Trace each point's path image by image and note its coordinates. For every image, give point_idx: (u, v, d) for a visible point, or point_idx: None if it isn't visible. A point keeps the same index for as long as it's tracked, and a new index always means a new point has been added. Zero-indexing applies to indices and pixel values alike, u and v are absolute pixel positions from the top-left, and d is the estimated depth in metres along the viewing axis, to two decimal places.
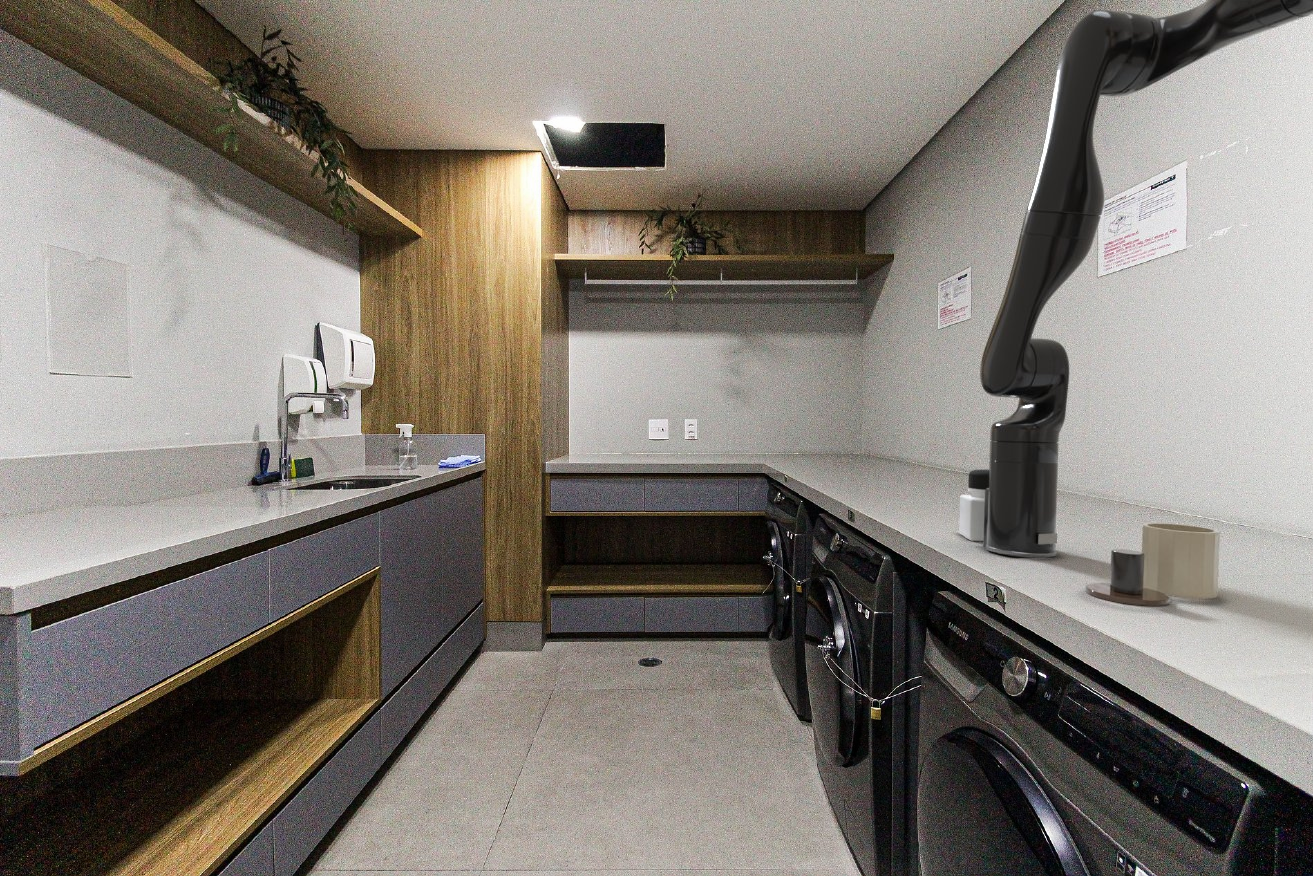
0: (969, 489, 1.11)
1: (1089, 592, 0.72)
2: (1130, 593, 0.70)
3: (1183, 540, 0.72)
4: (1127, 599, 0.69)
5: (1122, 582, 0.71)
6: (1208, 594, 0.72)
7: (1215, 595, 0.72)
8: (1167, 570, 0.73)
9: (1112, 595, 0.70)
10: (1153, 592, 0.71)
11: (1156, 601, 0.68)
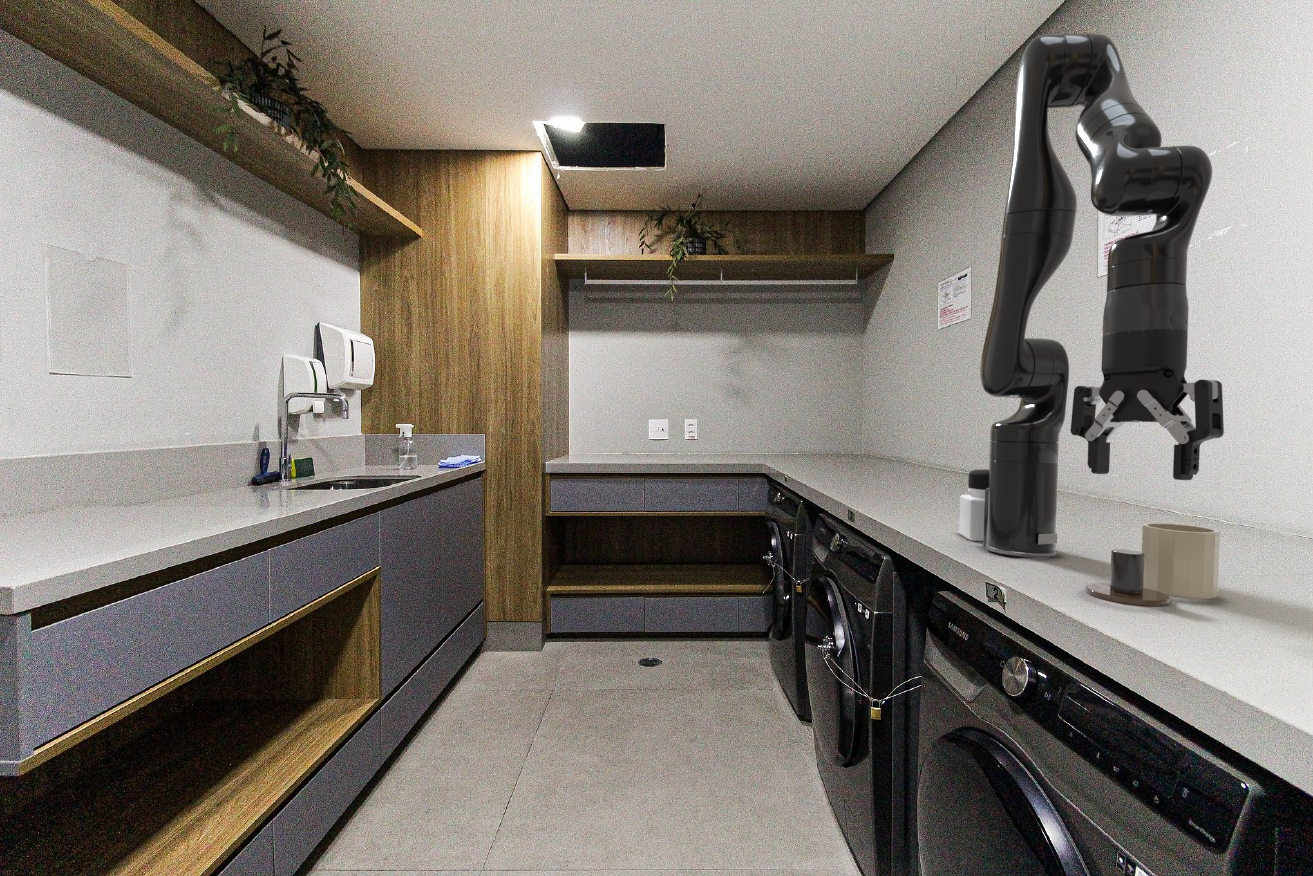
0: (969, 489, 1.11)
1: (1089, 592, 0.72)
2: (1130, 593, 0.70)
3: (1183, 540, 0.72)
4: (1127, 599, 0.69)
5: (1122, 582, 0.71)
6: (1208, 594, 0.72)
7: (1215, 595, 0.72)
8: (1167, 570, 0.73)
9: (1112, 595, 0.70)
10: (1153, 592, 0.71)
11: (1156, 601, 0.68)
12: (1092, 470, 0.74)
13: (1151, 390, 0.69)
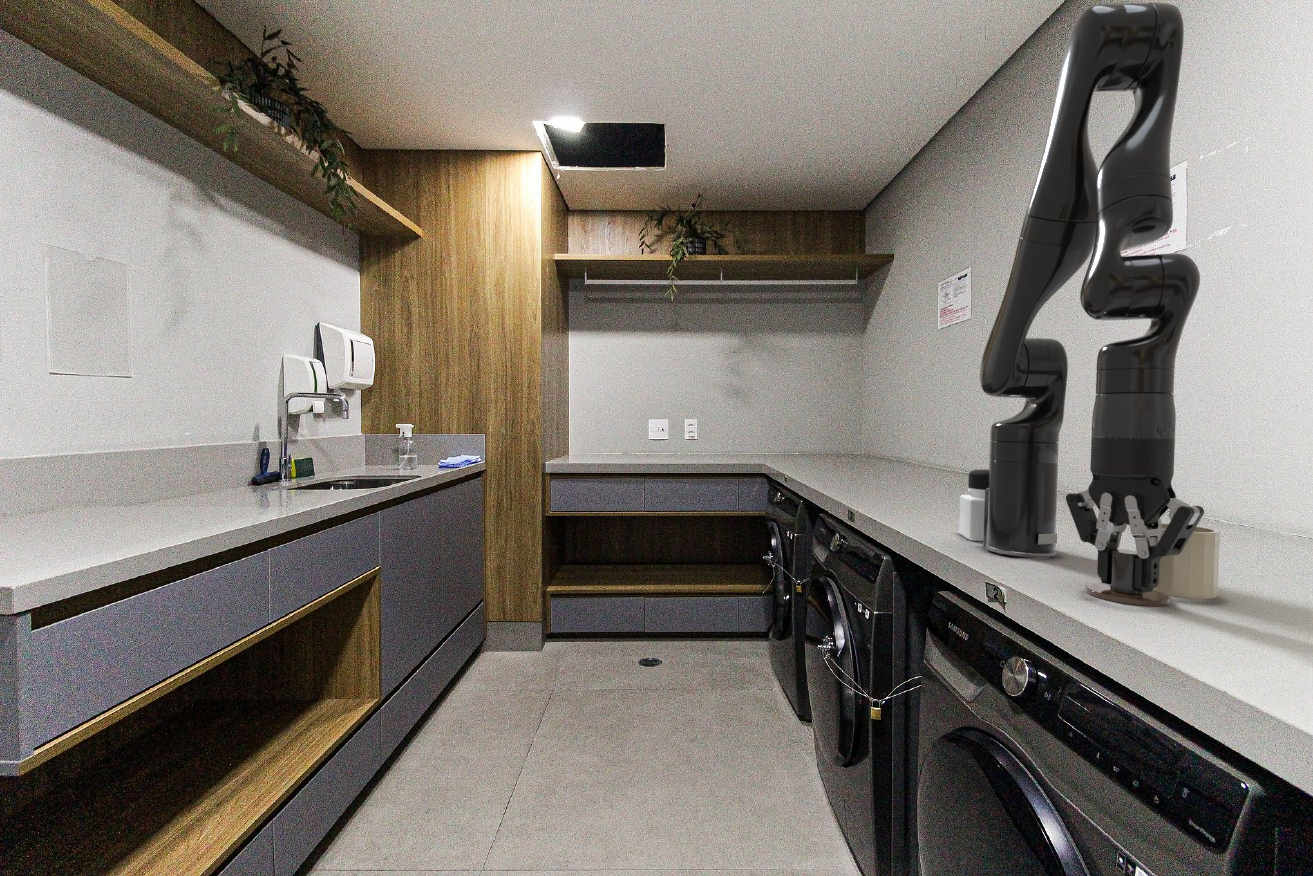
0: (969, 489, 1.11)
1: (1089, 592, 0.72)
2: (1130, 593, 0.70)
3: None
4: (1127, 599, 0.69)
5: (1122, 582, 0.71)
6: (1208, 594, 0.72)
7: (1215, 595, 0.72)
8: (1167, 570, 0.73)
9: (1112, 595, 0.70)
10: (1153, 592, 0.71)
11: (1156, 601, 0.68)
12: (1102, 580, 0.73)
13: (1138, 496, 0.69)
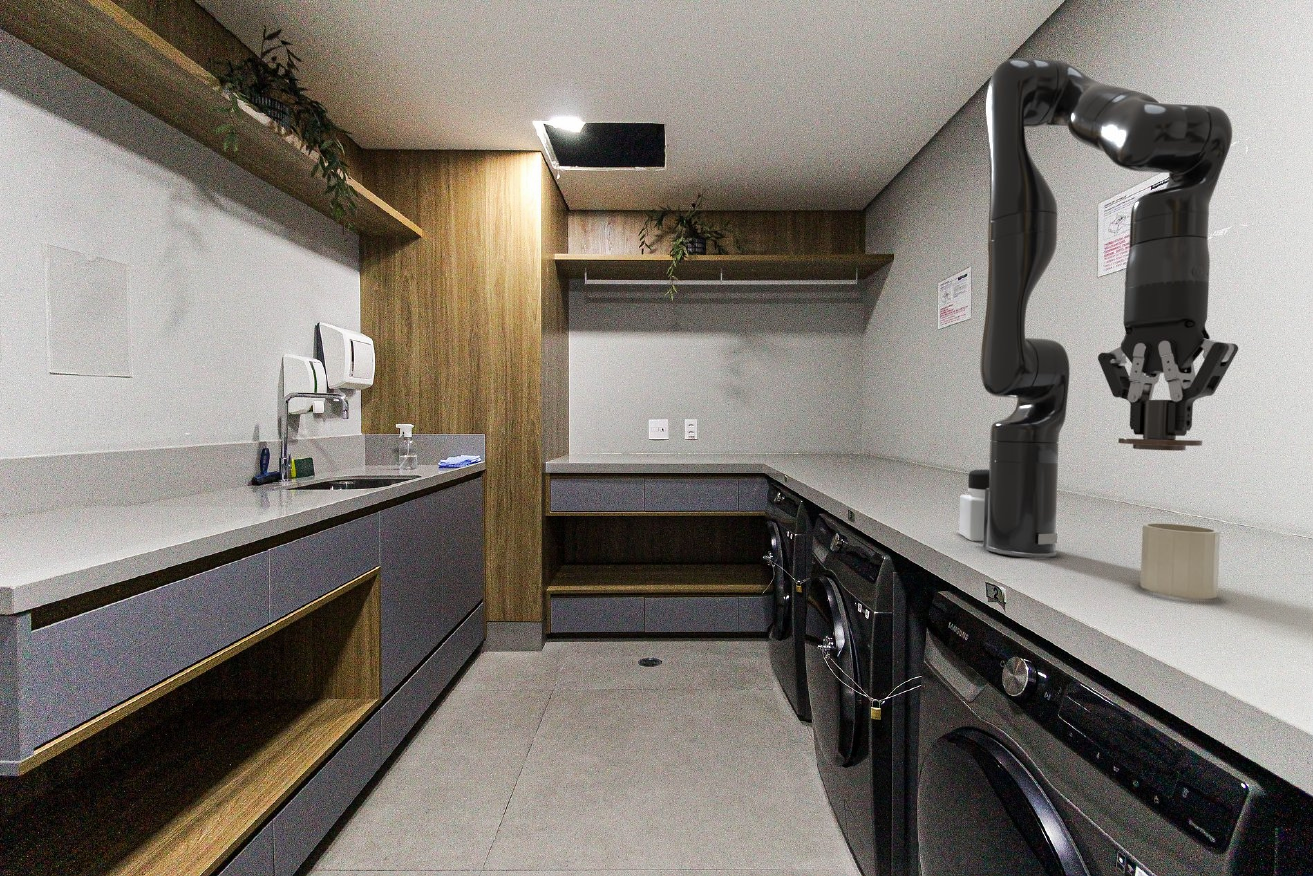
0: (969, 489, 1.11)
1: (1122, 441, 0.74)
2: (1163, 438, 0.72)
3: (1183, 540, 0.72)
4: (1161, 440, 0.70)
5: (1155, 428, 0.72)
6: (1208, 594, 0.72)
7: (1215, 595, 0.72)
8: (1167, 570, 0.73)
9: (1146, 439, 0.71)
10: None
11: (1190, 441, 0.69)
12: (1134, 431, 0.75)
13: (1172, 341, 0.71)
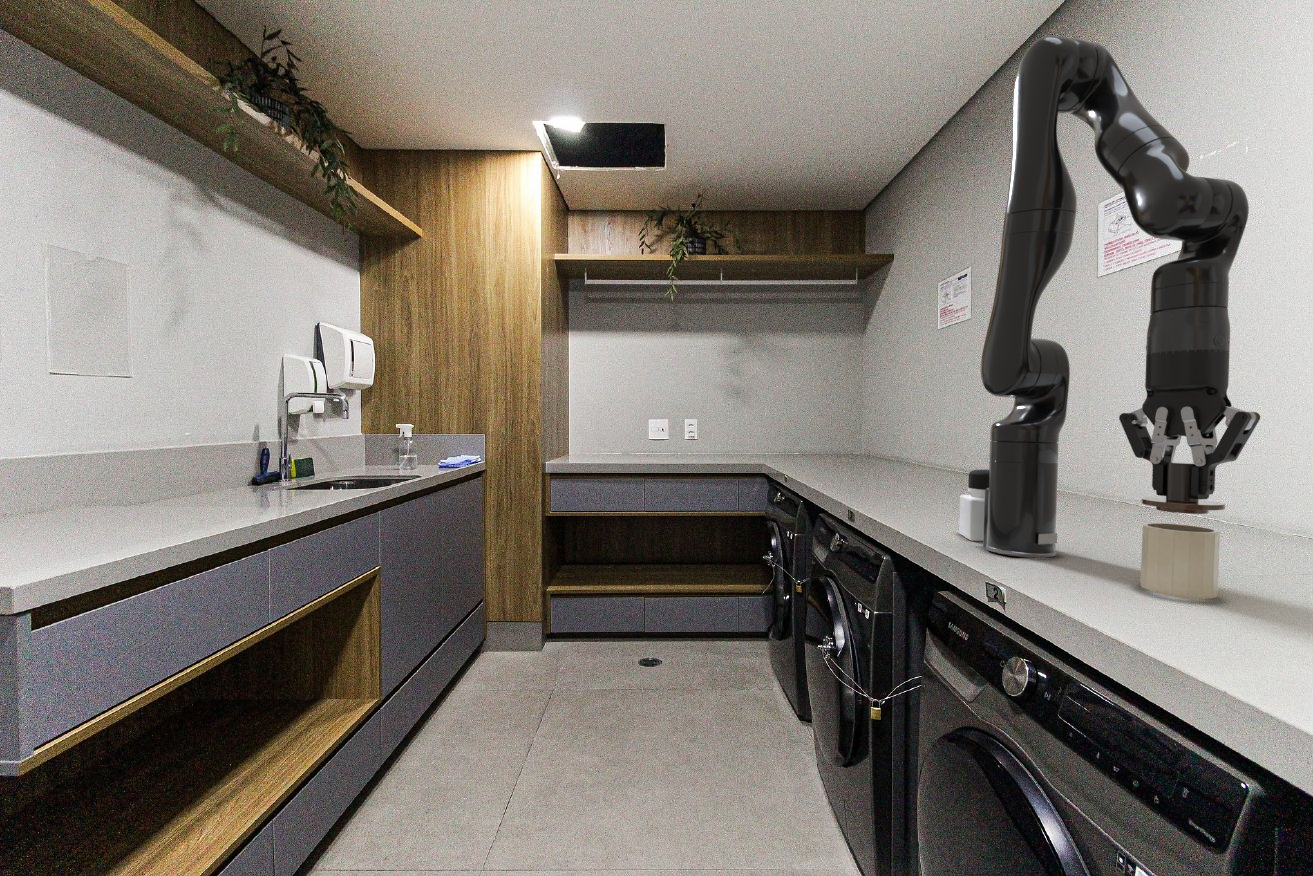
0: (969, 489, 1.11)
1: (1146, 503, 0.75)
2: (1186, 501, 0.73)
3: (1183, 540, 0.72)
4: (1185, 504, 0.72)
5: (1179, 491, 0.74)
6: (1208, 594, 0.72)
7: (1215, 595, 0.72)
8: (1167, 570, 0.73)
9: (1170, 502, 0.73)
10: (1208, 501, 0.74)
11: (1213, 505, 0.71)
12: (1157, 492, 0.76)
13: (1194, 407, 0.73)
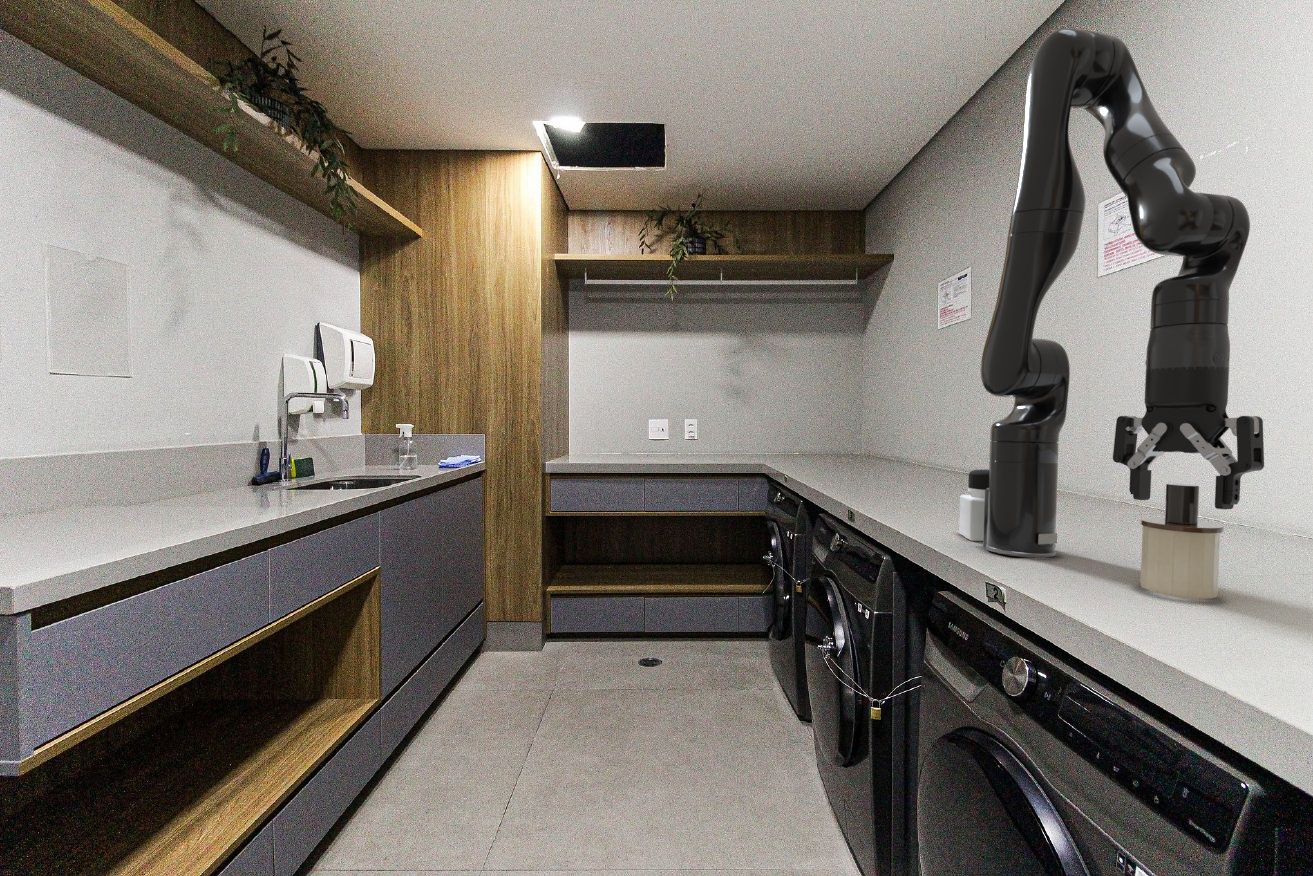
0: (969, 489, 1.11)
1: (1145, 524, 0.75)
2: (1186, 523, 0.73)
3: (1183, 540, 0.72)
4: (1184, 527, 0.72)
5: (1178, 513, 0.74)
6: (1208, 594, 0.72)
7: (1215, 595, 0.72)
8: (1167, 570, 0.73)
9: (1169, 525, 0.73)
10: (1207, 523, 0.74)
11: (1212, 528, 0.71)
12: (1134, 496, 0.79)
13: (1194, 423, 0.73)
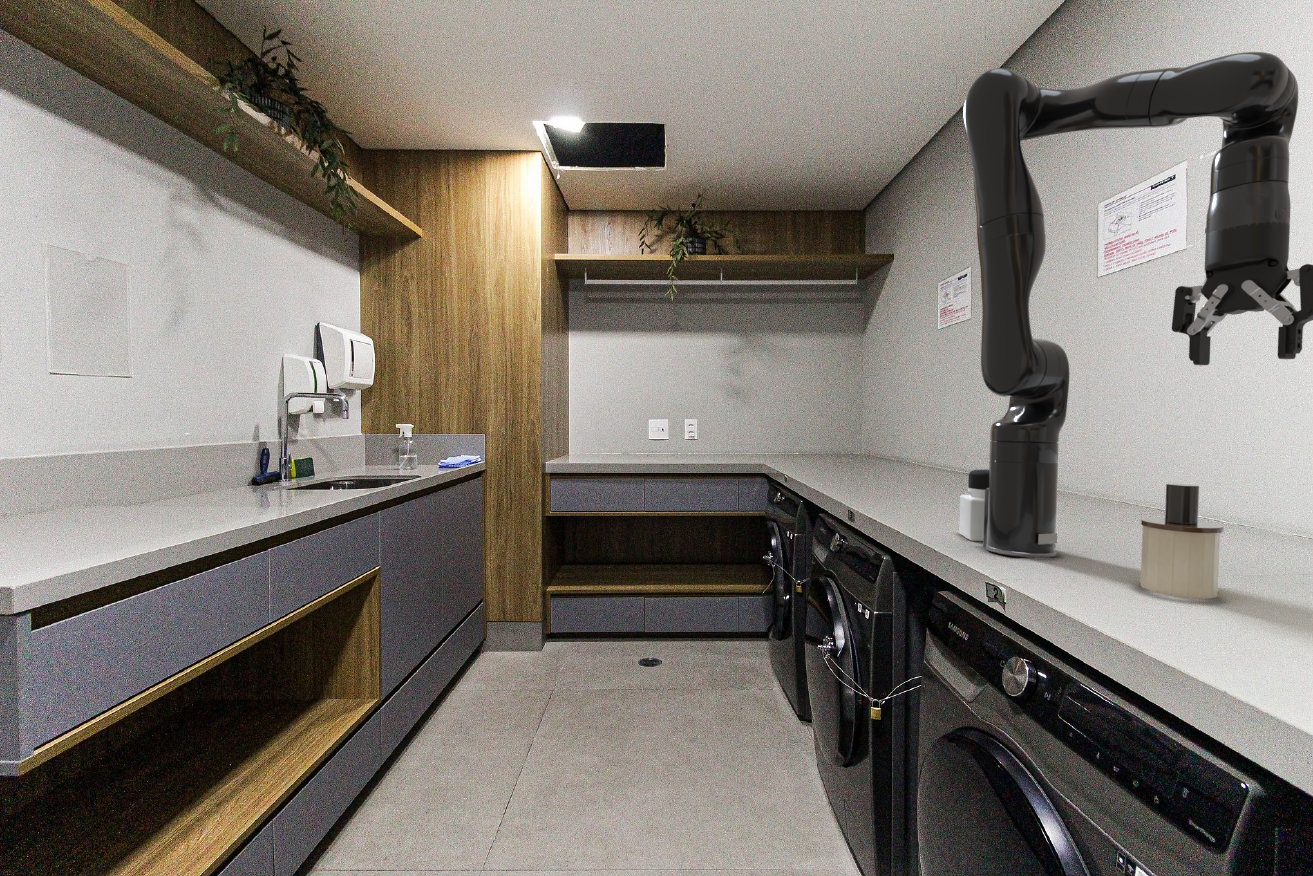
0: (969, 489, 1.11)
1: (1145, 524, 0.75)
2: (1186, 523, 0.73)
3: (1183, 540, 0.72)
4: (1184, 527, 0.72)
5: (1178, 513, 0.74)
6: (1208, 594, 0.72)
7: (1215, 595, 0.72)
8: (1167, 570, 0.73)
9: (1169, 525, 0.73)
10: (1207, 523, 0.74)
11: (1212, 528, 0.71)
12: (1194, 361, 0.81)
13: (1255, 280, 0.75)
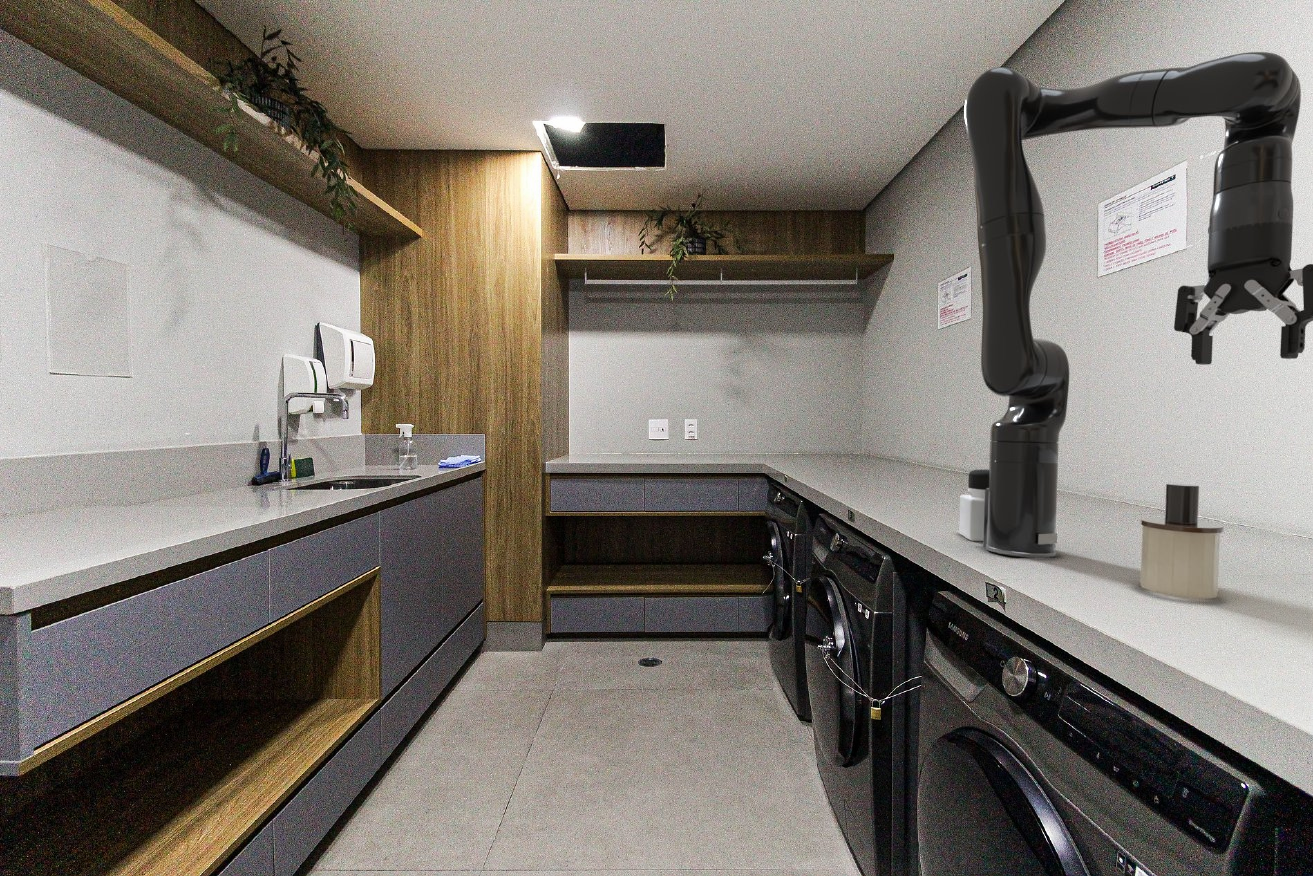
0: (969, 489, 1.11)
1: (1145, 524, 0.75)
2: (1186, 523, 0.73)
3: (1183, 540, 0.72)
4: (1184, 527, 0.72)
5: (1178, 513, 0.74)
6: (1208, 594, 0.72)
7: (1215, 595, 0.72)
8: (1167, 570, 0.73)
9: (1169, 525, 0.73)
10: (1207, 523, 0.74)
11: (1212, 528, 0.71)
12: (1196, 361, 0.82)
13: (1258, 280, 0.76)
